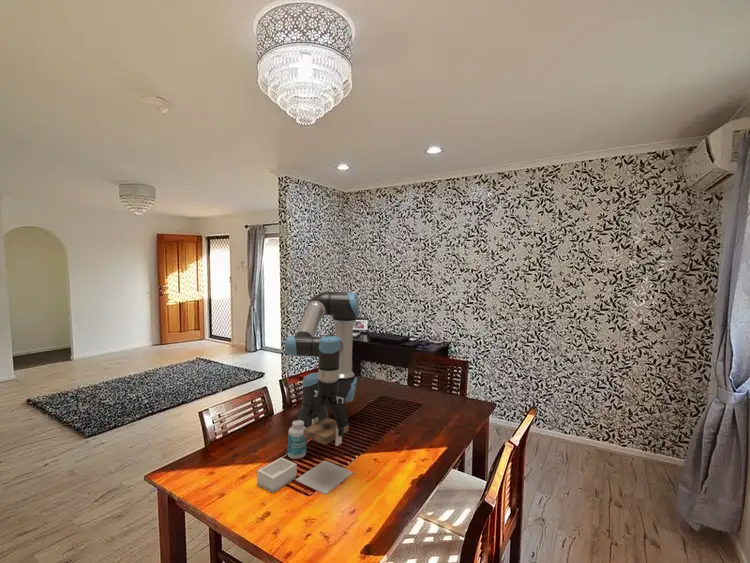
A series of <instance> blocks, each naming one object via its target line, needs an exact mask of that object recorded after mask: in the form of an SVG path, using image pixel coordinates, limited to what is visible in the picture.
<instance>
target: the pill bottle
mask: <svg viewBox="0 0 750 563" xmlns="http://www.w3.org/2000/svg"><path fill="white" fill-rule="evenodd" d="M305 428H307V426H304V421H301V420H298V419H297V420H294V421H292V423H291V427H289V428H288V433H287V434H288V435H287V437H288V438H287V457H289V458H290V459H292V460H299V459H300V460H301V459H302V458H304V457H305V456H306V455H307V443H308V440H307V439H308V438H307V437H304V436H303V431H304V429H305Z"/></svg>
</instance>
